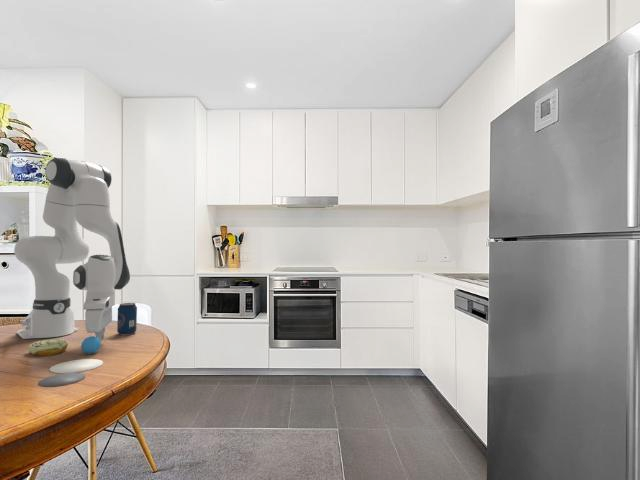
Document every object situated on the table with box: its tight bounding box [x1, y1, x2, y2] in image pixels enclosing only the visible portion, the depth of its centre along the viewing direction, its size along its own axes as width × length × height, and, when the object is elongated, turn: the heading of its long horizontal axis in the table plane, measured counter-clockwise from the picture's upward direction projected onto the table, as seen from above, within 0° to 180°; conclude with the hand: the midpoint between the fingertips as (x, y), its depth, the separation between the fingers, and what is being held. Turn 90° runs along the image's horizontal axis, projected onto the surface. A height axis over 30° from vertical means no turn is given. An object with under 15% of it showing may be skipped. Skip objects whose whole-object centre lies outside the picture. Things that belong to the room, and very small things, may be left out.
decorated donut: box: [28, 338, 69, 357], centre depth 123 cm, size 10×11×4 cm
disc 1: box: [38, 372, 86, 388], centre depth 97 cm, size 10×10×1 cm
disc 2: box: [49, 358, 104, 374], centre depth 109 cm, size 13×13×1 cm
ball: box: [80, 335, 102, 355], centre depth 122 cm, size 6×6×6 cm
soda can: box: [116, 302, 138, 336], centre depth 152 cm, size 7×7×12 cm
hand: (99, 340), depth 131 cm, fingers closed
